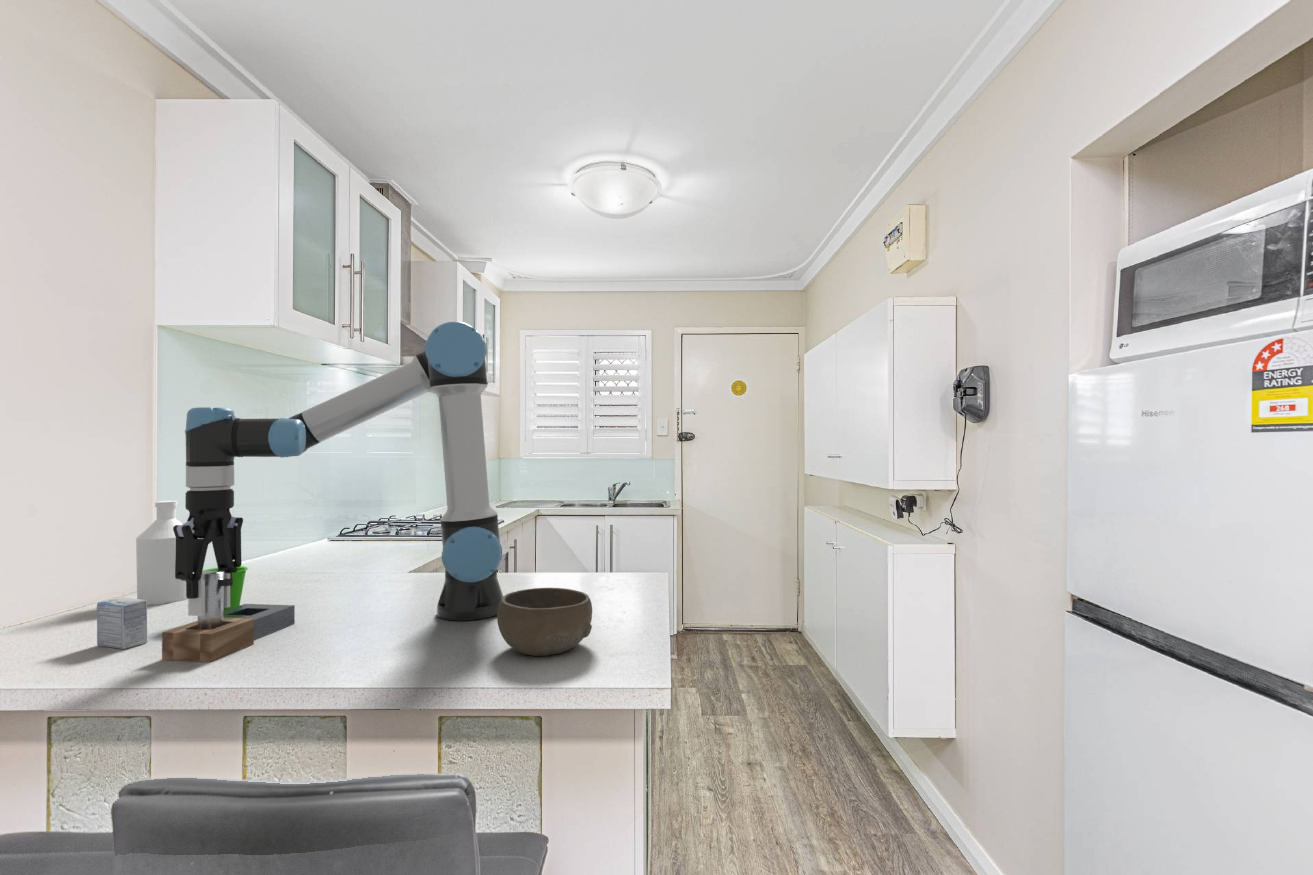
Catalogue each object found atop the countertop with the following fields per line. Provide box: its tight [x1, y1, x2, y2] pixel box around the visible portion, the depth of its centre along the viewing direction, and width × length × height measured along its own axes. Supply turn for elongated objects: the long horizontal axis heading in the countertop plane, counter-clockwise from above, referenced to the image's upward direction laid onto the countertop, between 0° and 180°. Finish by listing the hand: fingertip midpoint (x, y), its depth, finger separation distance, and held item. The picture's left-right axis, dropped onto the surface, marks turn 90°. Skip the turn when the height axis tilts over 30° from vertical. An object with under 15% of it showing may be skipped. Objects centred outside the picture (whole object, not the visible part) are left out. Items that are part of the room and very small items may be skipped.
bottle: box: [135, 500, 194, 606], centre depth 159 cm, size 12×12×25 cm
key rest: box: [161, 618, 255, 663], centre depth 118 cm, size 10×10×5 cm
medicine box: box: [96, 596, 148, 650], centre depth 122 cm, size 8×4×9 cm, turn 71°
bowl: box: [496, 587, 593, 657], centre depth 119 cm, size 17×18×10 cm
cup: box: [202, 565, 249, 610], centre depth 141 cm, size 9×9×11 cm
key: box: [196, 571, 233, 630], centre depth 118 cm, size 4×8×15 cm, turn 83°
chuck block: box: [223, 603, 296, 641], centre depth 131 cm, size 12×12×4 cm
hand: (209, 610), depth 118 cm, fingers open, 5 cm apart
